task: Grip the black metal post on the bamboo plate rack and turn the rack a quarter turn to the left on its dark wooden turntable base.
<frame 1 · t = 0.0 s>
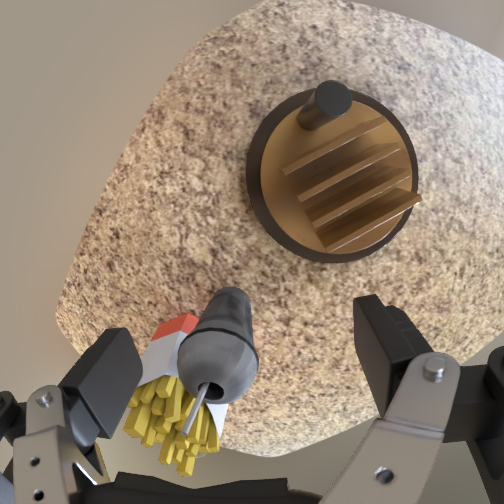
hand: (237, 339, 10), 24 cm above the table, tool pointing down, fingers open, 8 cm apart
turntable base: (335, 175, 32), on the table
french fries container: (202, 341, 39), on the table
plate rack: (355, 181, 24), point 8 cm above the table, hinge at 0.0°
beverage cup: (231, 303, 37), on the table
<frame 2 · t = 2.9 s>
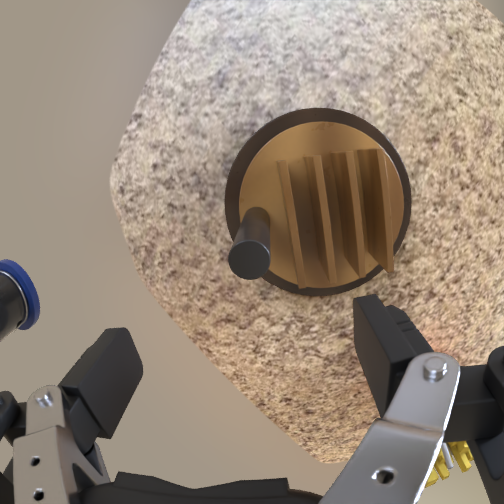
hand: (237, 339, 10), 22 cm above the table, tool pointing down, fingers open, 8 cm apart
turntable base: (321, 203, 30), on the table
french fries container: (408, 367, 36), on the table
plate rack: (338, 219, 23), point 8 cm above the table, hinge at 0.0°
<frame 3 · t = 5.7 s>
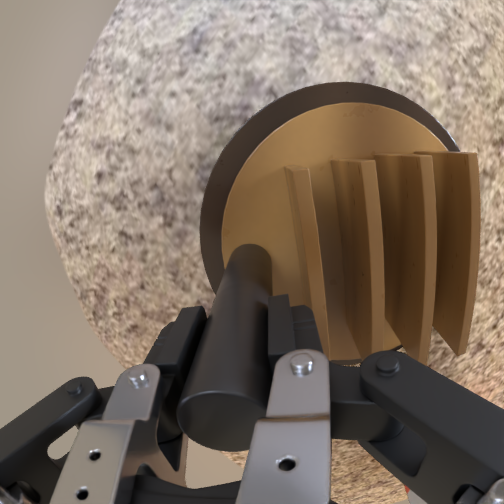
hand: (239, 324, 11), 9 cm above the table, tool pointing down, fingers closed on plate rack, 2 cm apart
turntable base: (351, 233, 19), on the table
plate rack: (398, 281, 12), point 8 cm above the table, hinge at 0.0°, touching gripper
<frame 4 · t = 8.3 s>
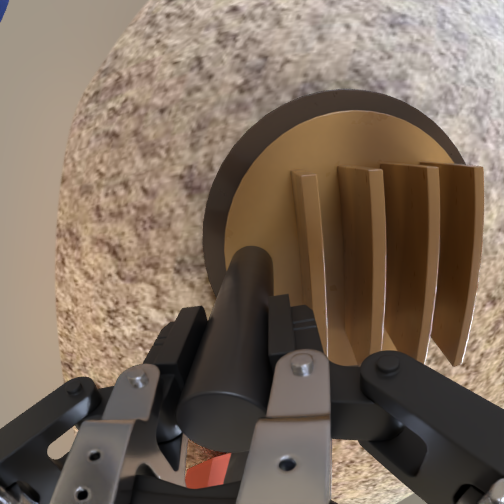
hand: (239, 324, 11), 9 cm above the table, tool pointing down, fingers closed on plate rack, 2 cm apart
turntable base: (353, 240, 20), on the table
french fries container: (244, 465, 27), on the table
plate rack: (398, 290, 12), point 8 cm above the table, hinge at 47.8°, touching gripper
beverage cup: (262, 429, 25), on the table
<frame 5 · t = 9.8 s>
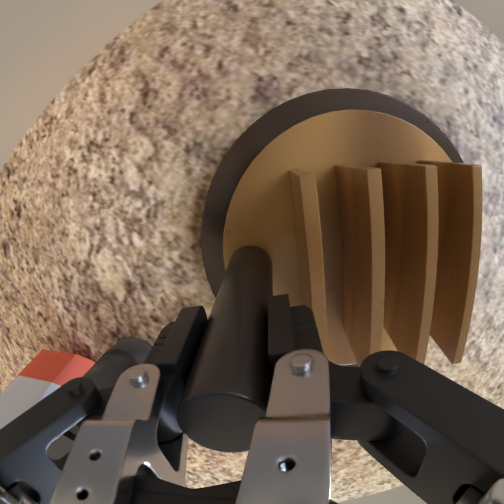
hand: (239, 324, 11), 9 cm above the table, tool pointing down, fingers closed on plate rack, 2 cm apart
turntable base: (351, 239, 20), on the table
french fries container: (94, 383, 25), on the table
plate rack: (398, 288, 12), point 8 cm above the table, hinge at 87.7°, touching gripper
beverage cup: (138, 358, 24), on the table
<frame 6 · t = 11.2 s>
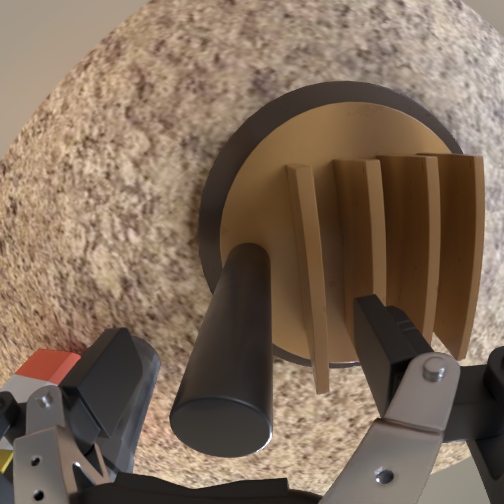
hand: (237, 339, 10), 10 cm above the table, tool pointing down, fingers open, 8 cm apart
turntable base: (351, 234, 19), on the table
french fries container: (91, 382, 25), on the table
plate rack: (399, 284, 11), point 8 cm above the table, hinge at 88.6°
beverage cup: (135, 356, 23), on the table
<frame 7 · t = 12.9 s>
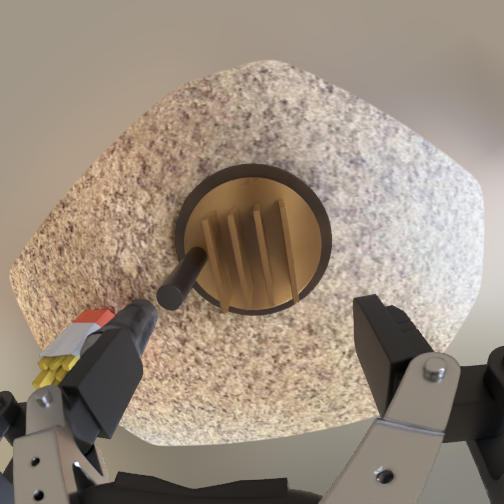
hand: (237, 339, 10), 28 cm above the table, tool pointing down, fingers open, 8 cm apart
turntable base: (253, 241, 38), on the table
french fries container: (115, 333, 44), on the table
plate rack: (249, 262, 31), point 8 cm above the table, hinge at 88.6°
beverage cup: (143, 312, 42), on the table
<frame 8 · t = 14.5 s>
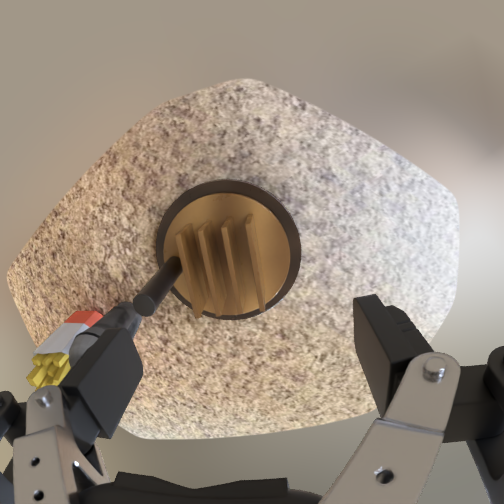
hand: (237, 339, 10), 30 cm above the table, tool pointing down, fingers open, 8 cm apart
turntable base: (227, 251, 41), on the table
french fries container: (103, 332, 47), on the table
plate rack: (218, 274, 33), point 8 cm above the table, hinge at 88.6°
beverage cup: (129, 314, 45), on the table
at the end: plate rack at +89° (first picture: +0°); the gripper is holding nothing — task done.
